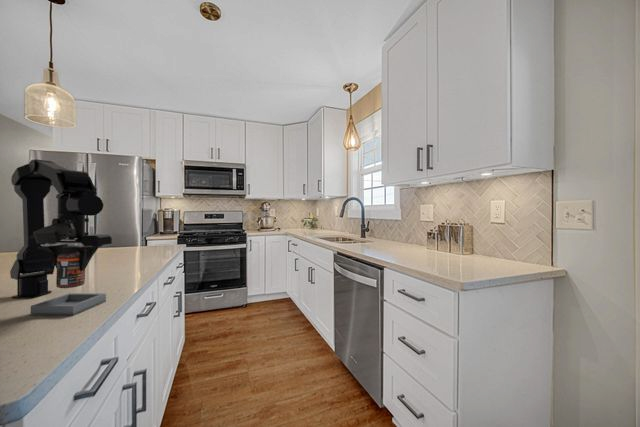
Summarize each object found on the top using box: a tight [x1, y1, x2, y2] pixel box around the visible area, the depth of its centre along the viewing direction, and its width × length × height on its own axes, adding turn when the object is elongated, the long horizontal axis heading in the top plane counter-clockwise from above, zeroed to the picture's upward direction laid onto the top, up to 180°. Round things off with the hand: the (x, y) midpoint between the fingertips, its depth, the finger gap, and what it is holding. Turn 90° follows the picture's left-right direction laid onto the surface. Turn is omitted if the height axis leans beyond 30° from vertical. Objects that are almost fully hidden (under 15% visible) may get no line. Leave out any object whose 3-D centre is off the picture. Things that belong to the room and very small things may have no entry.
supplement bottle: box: [55, 244, 86, 289], centre depth 76 cm, size 6×6×11 cm
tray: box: [30, 292, 107, 317], centre depth 76 cm, size 11×11×2 cm
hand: (71, 270), depth 76 cm, fingers closed on supplement bottle, 6 cm apart
